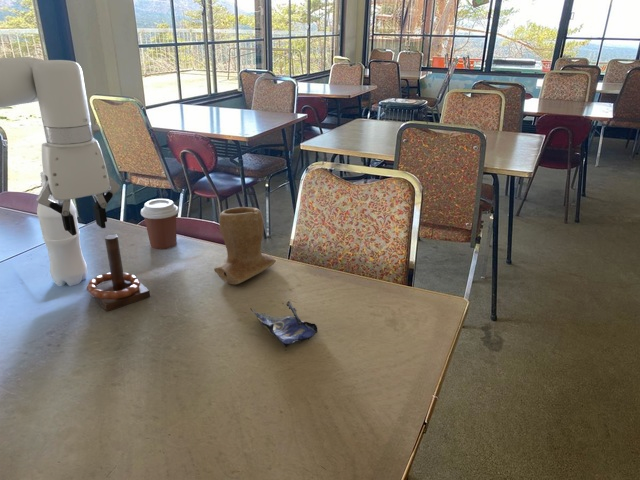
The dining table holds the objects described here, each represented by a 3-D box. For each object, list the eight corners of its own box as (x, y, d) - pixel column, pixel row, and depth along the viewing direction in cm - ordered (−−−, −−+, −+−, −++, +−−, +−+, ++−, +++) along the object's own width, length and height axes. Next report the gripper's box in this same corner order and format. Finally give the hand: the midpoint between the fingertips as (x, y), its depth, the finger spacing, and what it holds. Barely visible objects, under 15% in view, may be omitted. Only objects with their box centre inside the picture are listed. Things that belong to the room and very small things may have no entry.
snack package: (303, 311, 98) (247, 318, 94) (306, 286, 95) (248, 293, 91) (322, 353, 89) (260, 363, 85) (326, 327, 85) (261, 337, 81)
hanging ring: (98, 305, 94) (97, 298, 93) (81, 284, 100) (80, 277, 100) (147, 292, 100) (147, 286, 100) (128, 273, 107) (128, 267, 106)
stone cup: (245, 253, 122) (243, 197, 116) (282, 266, 116) (281, 207, 110) (200, 275, 110) (195, 214, 104) (238, 291, 104) (235, 227, 98)
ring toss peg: (107, 311, 96) (96, 250, 90) (91, 294, 102) (79, 235, 96) (150, 296, 101) (142, 238, 96) (132, 280, 107) (124, 225, 102)
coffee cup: (189, 242, 127) (185, 199, 122) (169, 256, 119) (164, 211, 114) (159, 237, 129) (154, 195, 124) (137, 251, 121) (131, 206, 116)
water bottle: (96, 280, 107) (76, 171, 97) (66, 293, 102) (41, 179, 91) (76, 271, 110) (54, 165, 100) (46, 284, 105) (20, 173, 95)
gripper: (109, 126, 93) (123, 214, 100) (9, 136, 82) (32, 234, 90) (125, 132, 88) (138, 224, 95) (20, 144, 77) (44, 247, 85)
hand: (86, 228), depth 92 cm, fingers open, 4 cm apart
